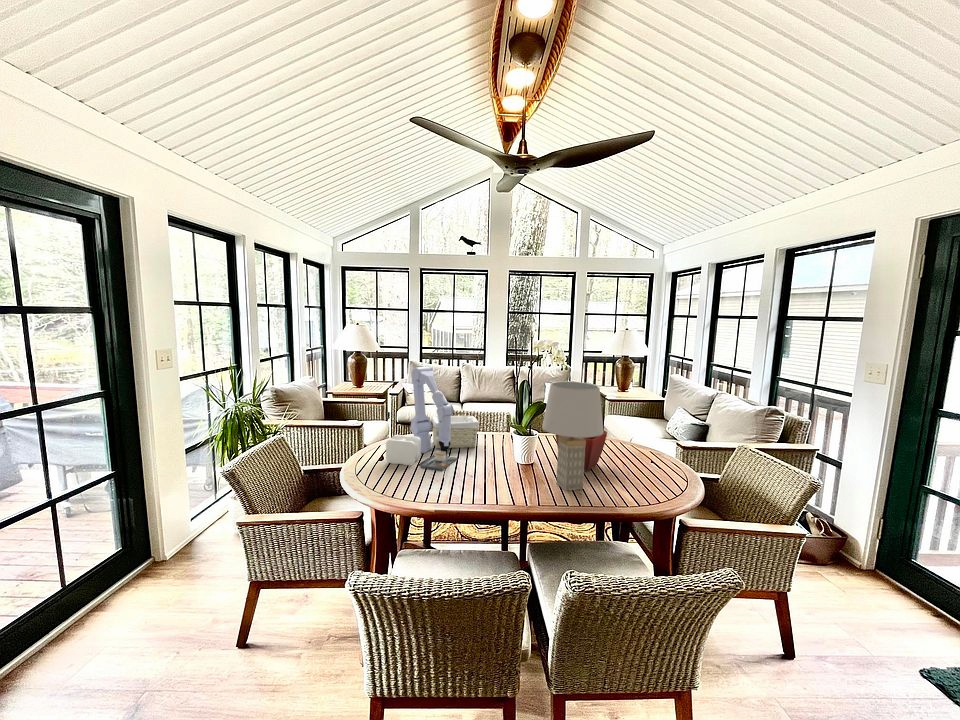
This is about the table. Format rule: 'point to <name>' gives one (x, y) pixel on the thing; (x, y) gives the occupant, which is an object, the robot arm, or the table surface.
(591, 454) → the plant pot
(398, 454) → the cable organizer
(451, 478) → the table surface
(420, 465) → the cords
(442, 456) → the white and orange block
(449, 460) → the panel
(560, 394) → the lamp
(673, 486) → the table surface
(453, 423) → the storage basket
